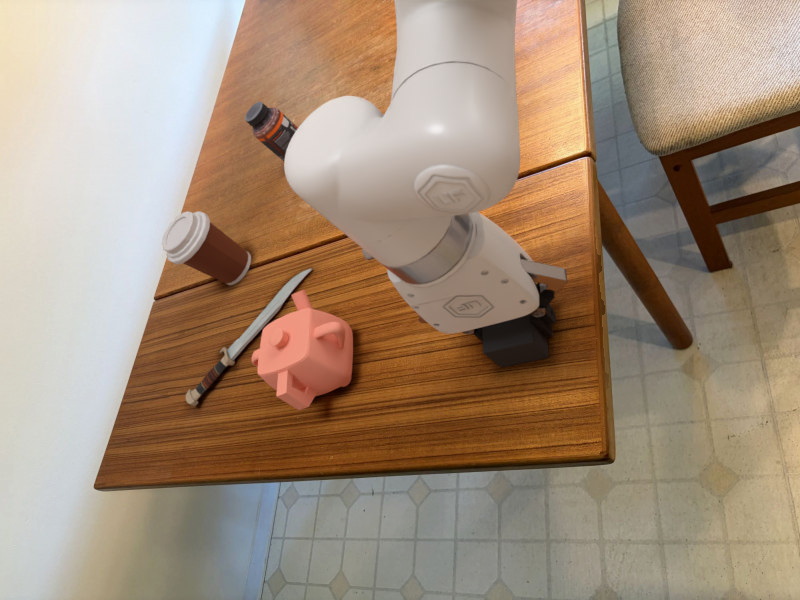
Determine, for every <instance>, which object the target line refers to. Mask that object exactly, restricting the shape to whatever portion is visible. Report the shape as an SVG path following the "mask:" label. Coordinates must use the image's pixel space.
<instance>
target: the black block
mask: <svg viewBox="0 0 800 600" xmlns="http://www.w3.org/2000/svg"><path fill="white" fill-rule="evenodd" d="M482 339H483V342H482V353H483V355H485V356H486V357H487V358H489V359H490V360H491V361H492V362H493V363H495V364H496V365H497V366H499V367H500V368H507V367H511V366H516V365H520V364H525V363H531V362H535V361H539V360H544V359H545V360H546V359H548V358H550V352H549V341H548V337H546V336H544V335H543V334H542V333H541V331H540V330H539V329H538V328H537V327H536V326H535V325H534V324H533V323H532V322H531V321H530V315H529V314H528V315H525V316H522V317H519V318H516V319H512V320H508V321H504V322H500V323H497V324H493V325H489V326H485V327H482Z"/></svg>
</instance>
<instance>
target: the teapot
mask: <svg viewBox="0 0 800 600" xmlns="http://www.w3.org/2000/svg"><path fill="white" fill-rule="evenodd" d="M290 295H291V298H292V300H293V303H294V305H295V308H296V311H292V312H290V313H286V314H285V315H283V316H280V317H279V318H277V319H274V320H272V321H271V322H269V323H267V324H266V325H265V326H264V327H263V328H262V332H261V336H260V345H259V348H258V349H256V350H254V351H253V352H252V355H251V363H252V365H253V366H254V367H256V368H257V375H258V376H259V377H260V378H261V379H262V380H263V381H264V382H265V383H266V384H267V385H269V387H271V389H273V390H275V391H276V397H277V398H278V399H279V400H281V401H283V402H285V403H286V404H287V405H289V406H291V407H293V408H294V409H296V410H298V411H300V410H303V409H306V408H309V407H310V406H311V404H312V402H313V400H314V399H315V397H319V396H322V395H325V394H328V393H330V392H333V391H334V390H336V389H339V388H344V387H345V388H346V387H347V386H348V385H349V384H350V382H351V381H352V373H353V365H354V364H353V363H354V360H353V359H354V335H353V329H352V327H351V326H350V325H349V324H348V322H347V321H346V320H344V319H342V318H340V317H338V316H336V315H334V314H332V313H329V312H326V311H322V310H318V309H316V308H314V307H313V304H312V302H311V301H310V298H309V296H308V293H307V291H306V290H305V289H301V290H298V291H297V292H294V293H291V294H290Z"/></svg>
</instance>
